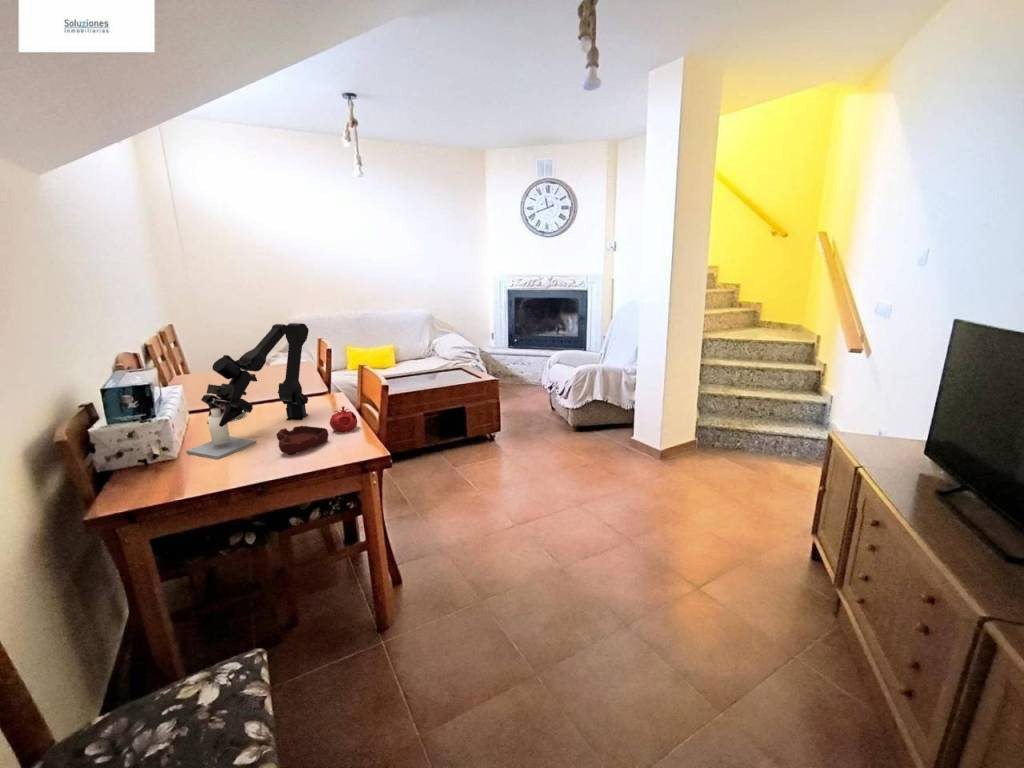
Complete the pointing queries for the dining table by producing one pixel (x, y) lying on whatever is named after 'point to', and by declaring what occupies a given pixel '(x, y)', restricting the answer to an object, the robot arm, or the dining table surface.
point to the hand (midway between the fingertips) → (214, 425)
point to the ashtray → (301, 439)
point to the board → (221, 448)
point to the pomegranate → (343, 421)
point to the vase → (218, 428)
